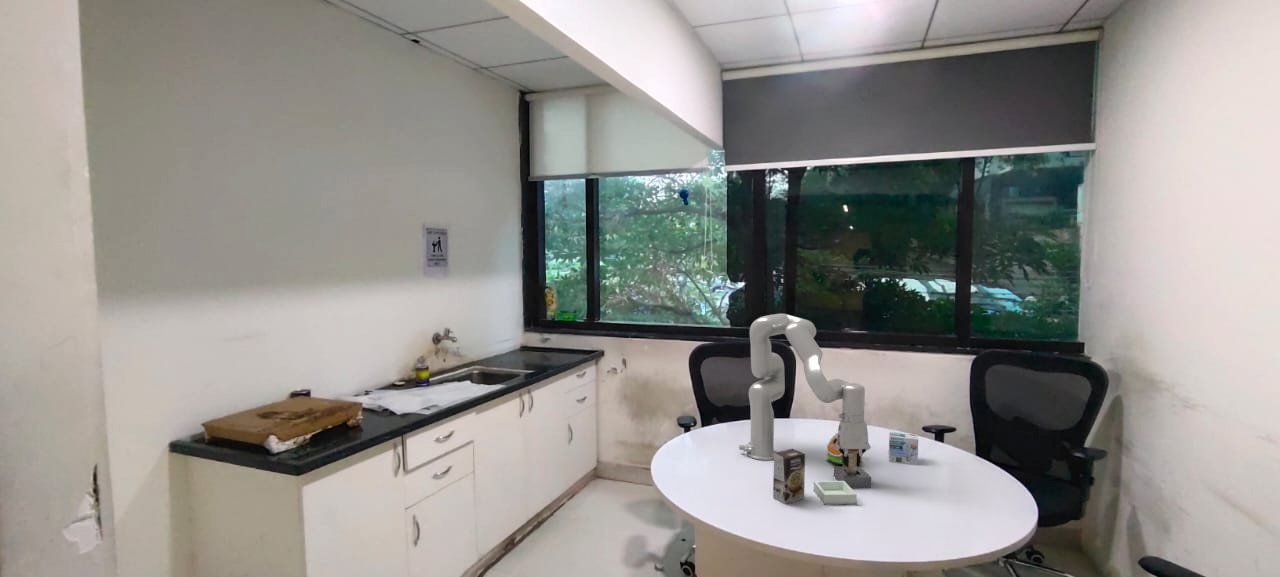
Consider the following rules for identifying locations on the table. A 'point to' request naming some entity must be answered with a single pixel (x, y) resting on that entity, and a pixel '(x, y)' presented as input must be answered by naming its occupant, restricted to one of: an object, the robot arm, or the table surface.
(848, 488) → the tray
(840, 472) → the hitch block
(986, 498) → the table surface
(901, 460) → the light bulb box
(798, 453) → the coffee box
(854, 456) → the pin
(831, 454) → the turtle holder
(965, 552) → the table surface
